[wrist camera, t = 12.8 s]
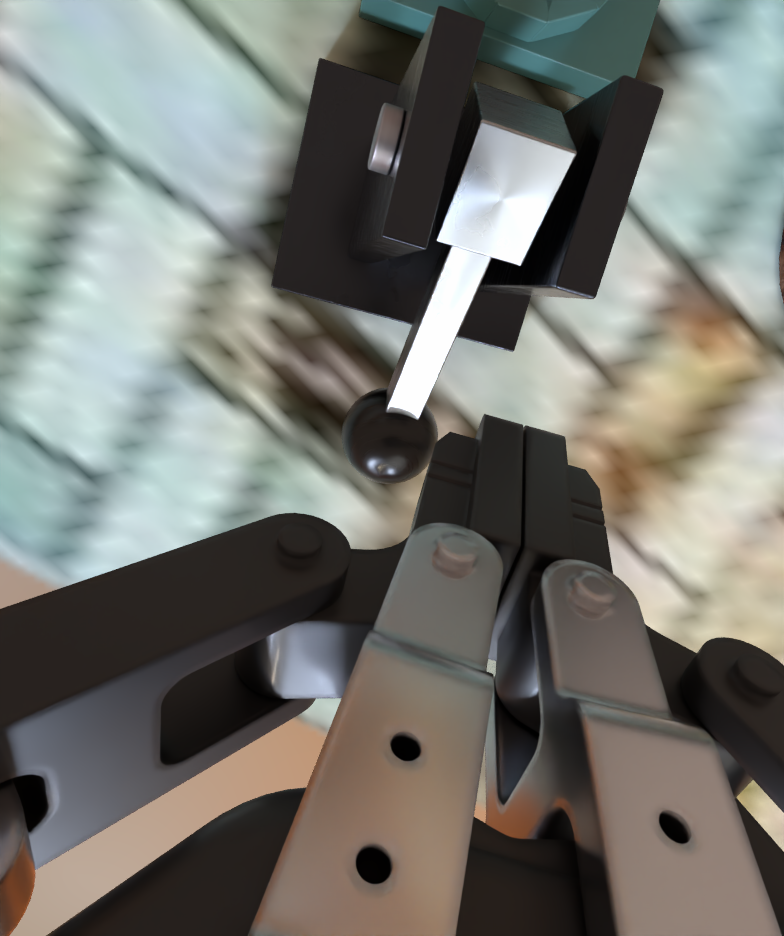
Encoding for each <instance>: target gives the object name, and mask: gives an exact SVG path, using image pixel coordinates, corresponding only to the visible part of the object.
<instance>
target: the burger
mask: <svg viewBox="0 0 784 936" xmlns="http://www.w3.org/2000/svg"><path fill="white" fill-rule="evenodd" d="M779 262H780V263H779V265H780V267H779V270H780V288H781V293H782V298H783V303H784V230H783V236H782V242H781V250H780V256H779Z"/></svg>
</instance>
